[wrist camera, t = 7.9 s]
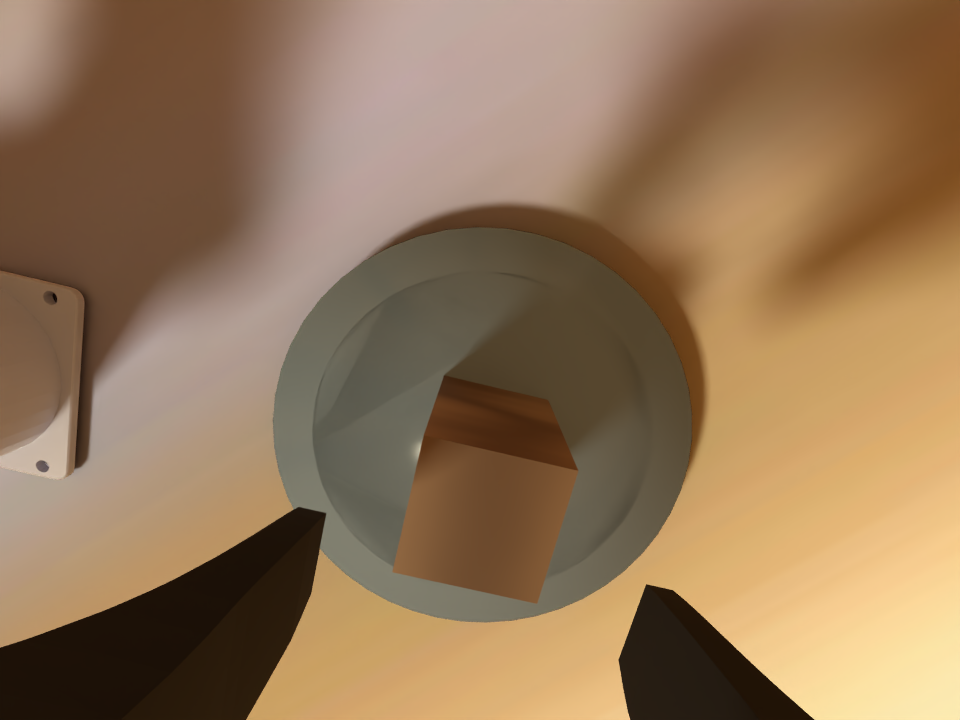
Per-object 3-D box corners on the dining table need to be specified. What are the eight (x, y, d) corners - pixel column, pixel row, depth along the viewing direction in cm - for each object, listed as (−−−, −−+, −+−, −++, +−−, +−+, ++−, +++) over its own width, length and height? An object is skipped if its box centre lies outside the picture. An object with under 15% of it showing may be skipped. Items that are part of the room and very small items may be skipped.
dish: (260, 558, 21) (247, 576, 20) (321, 181, 17) (309, 176, 16) (612, 635, 22) (619, 657, 20) (737, 286, 18) (754, 288, 17)
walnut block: (421, 471, 19) (392, 572, 13) (443, 375, 18) (423, 435, 12) (521, 494, 19) (537, 603, 13) (548, 399, 18) (578, 470, 12)
